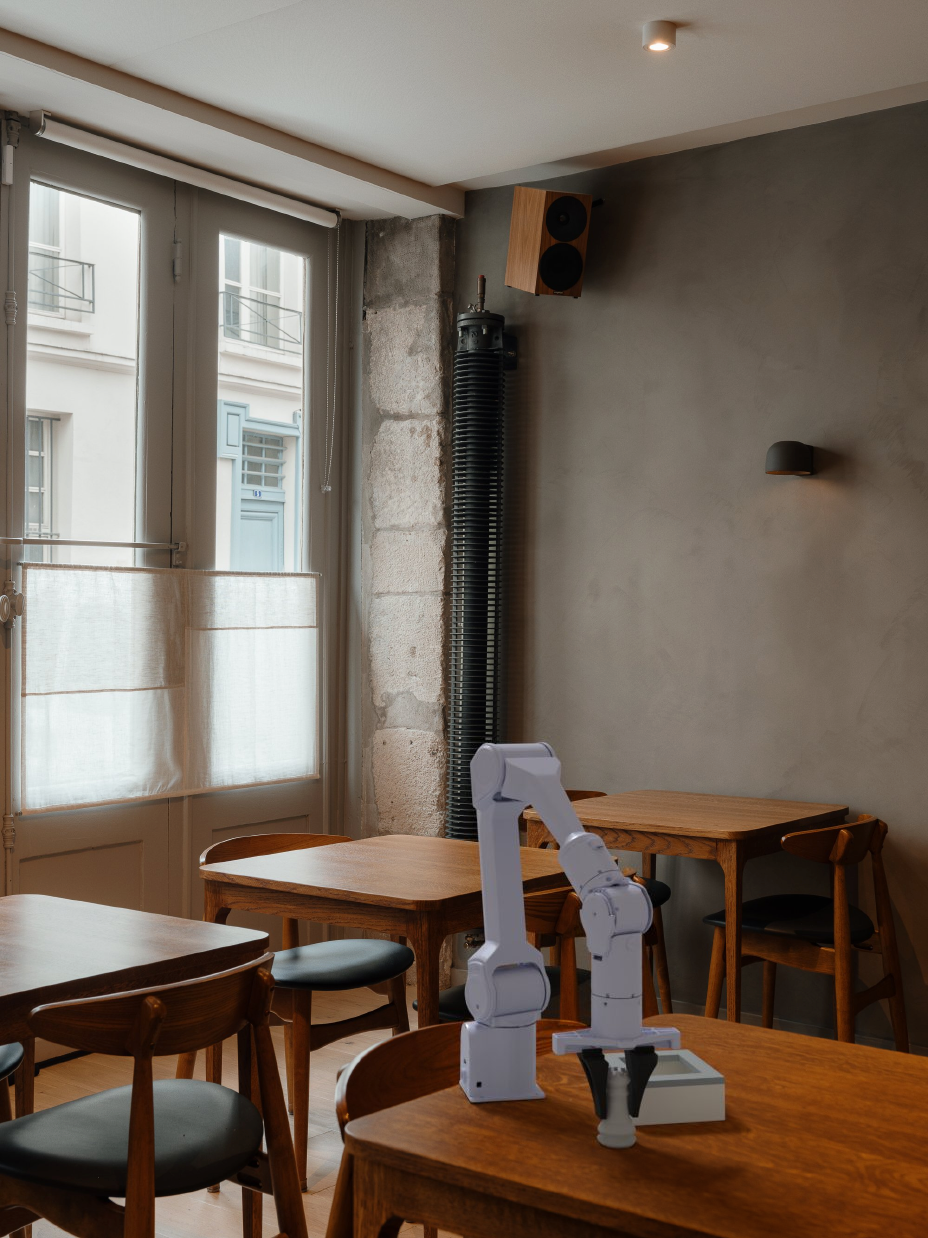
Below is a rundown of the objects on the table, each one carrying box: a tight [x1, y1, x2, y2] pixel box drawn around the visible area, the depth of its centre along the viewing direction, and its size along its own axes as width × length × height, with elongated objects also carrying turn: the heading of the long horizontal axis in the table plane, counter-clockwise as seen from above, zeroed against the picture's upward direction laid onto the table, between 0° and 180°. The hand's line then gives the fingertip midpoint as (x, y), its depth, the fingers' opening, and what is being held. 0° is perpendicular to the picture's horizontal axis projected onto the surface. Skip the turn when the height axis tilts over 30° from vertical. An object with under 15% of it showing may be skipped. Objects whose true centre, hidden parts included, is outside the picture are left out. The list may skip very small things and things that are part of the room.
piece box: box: [603, 1048, 726, 1127], centre depth 155 cm, size 12×12×5 cm
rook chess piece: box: [596, 1067, 638, 1149], centre depth 143 cm, size 4×4×8 cm
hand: (616, 1116), depth 143 cm, fingers closed on rook chess piece, 3 cm apart
